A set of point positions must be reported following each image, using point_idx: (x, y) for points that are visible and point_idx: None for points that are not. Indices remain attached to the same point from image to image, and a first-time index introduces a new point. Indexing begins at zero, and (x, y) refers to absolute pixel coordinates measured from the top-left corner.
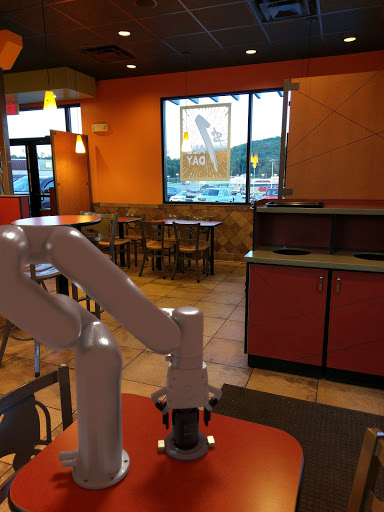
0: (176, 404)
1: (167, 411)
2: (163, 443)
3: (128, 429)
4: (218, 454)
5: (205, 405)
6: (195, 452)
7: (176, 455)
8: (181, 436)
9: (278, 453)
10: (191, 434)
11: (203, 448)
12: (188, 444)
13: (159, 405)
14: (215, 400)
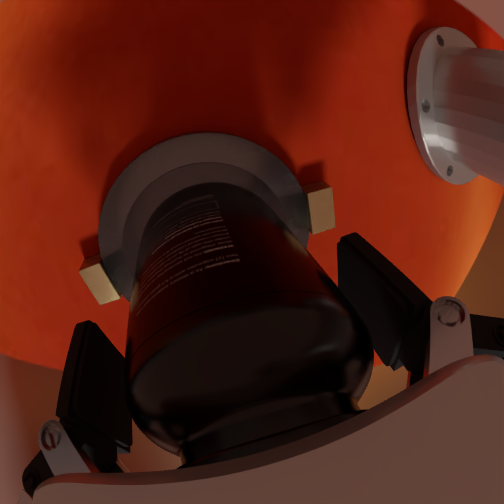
0: (459, 442)
1: (434, 330)
2: (312, 214)
3: (405, 268)
4: (57, 220)
5: (41, 486)
6: (145, 187)
7: (241, 145)
8: (237, 209)
9: None
10: (164, 234)
11: (114, 224)
12: (183, 197)
13: (499, 341)
14: (32, 490)
